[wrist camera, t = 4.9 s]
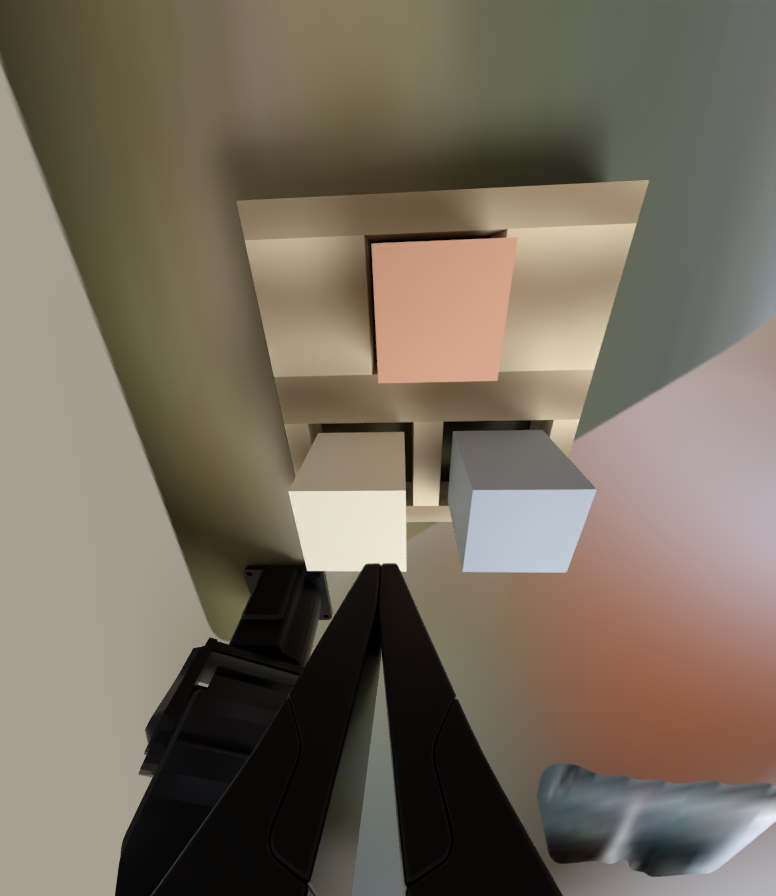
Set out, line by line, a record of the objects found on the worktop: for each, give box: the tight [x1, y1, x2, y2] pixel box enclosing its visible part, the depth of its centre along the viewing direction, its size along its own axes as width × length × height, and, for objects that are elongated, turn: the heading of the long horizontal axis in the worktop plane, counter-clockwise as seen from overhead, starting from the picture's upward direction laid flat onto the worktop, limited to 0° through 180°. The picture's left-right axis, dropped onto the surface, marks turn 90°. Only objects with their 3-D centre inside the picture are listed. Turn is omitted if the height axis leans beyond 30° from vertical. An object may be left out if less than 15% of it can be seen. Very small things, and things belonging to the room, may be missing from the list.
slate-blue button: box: [448, 430, 597, 572], centre depth 15 cm, size 4×4×5 cm
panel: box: [236, 180, 649, 522], centre depth 16 cm, size 16×15×2 cm
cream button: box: [288, 432, 406, 572], centre depth 15 cm, size 4×4×5 cm
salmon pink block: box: [371, 237, 518, 383], centre depth 13 cm, size 4×4×5 cm
